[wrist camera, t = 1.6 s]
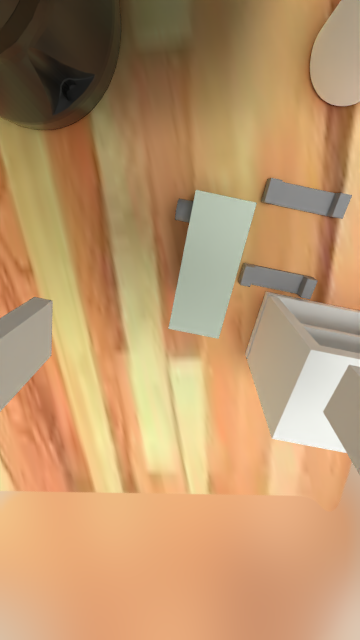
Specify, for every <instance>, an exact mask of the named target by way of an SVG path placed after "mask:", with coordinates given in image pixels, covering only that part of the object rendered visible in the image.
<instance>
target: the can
mask: <svg viewBox="0 0 360 640" xmlns="http://www.w3.org/2000/svg"><path fill="white" fill-rule="evenodd" d="M310 76H311V81H312V84H313V86H314V89H315V91H316V92H317V94H318V95H319V96H320V97H321V98H322V99H323V100H324V101H326V102H327V103H329V104H331V105H335V106H349V105H353V104H356V103H358V102H360V0H341V1H340V3H339V4H338V6H337V7H336V8H335V10H334V11H333V13H332V14H331V16H330V17H329V18H328V20H327V21H326V23H325V24H324V26H323V27H322V29H321V30H320V32H319V34H318V35H317V37H316V40H315V42H314V45H313V49H312V53H311V60H310Z"/></svg>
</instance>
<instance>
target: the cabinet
mask: <svg viewBox="0 0 360 640" xmlns="http://www.w3.org/2000/svg"><path fill="white" fill-rule="evenodd" d="M351 196H352V195H348V194H343V193H331V192H326V191H322V190H317V189H312V188H308V187H303V186H298V185H294V184H289V183H285V182H282V180H279V179H274V178H270V179H267V183H266V186H265V190H264V193H263V197H262V200H261V202H263V203H268V204H273V205H277V206H282V207H287V208H292V209H296V210H301V211H306V212H310V213H315V214H320V215H324V216H329V217H334V218H341V219H343V216H344V214H345V211H346V209H347V206H348V204H349V201H350V199H351ZM239 283H240V285H243V286H248V287H250V285H251V284H252V285H257V286H261V287H266V288H271V289H276V290H281V291H286V292H291V293H295V294H298V295H299V296H300V297H302V298H307V299H310V298H311V296H312V293H313V291H314V288H315V286H316V283H317V280H316V279H314V278H313V277H309V276H304V275H299V274H295V273H290V272H285V271H280V270H275V269H270V268H266V267H261V266H256V265H251V264H246V263H243V267H242V270H241V274H240V277H239ZM245 355H246V358H247V359H248V360H247V362H248V365H249V368H250V371H251V374H252V377H253V380H254V384H255V387H256V390H257V393H258V396H259V399H260V402H261V406H262V409H263V412H264V415H265V418H266V421H267V424H268V428H269V431H270V434H271V437H272V439H277V440H282V441H287V442H292V443H297V444H303V445H308V446H313V447H318V448H323V449H329V450H334V451H339V452H344V453H347V452H346V451H345V449H344V447H343V445H342V444H341V442H340V440H339V439H338V437H337V435H336V433H335V432H334V430H333V428H332V427H331V425H330V423H329V421H328V420H327V418H326V416H325V415H324V413H323V411H324V409H325V407H326V405H327V404H328V402H329V400H330V398H331V396H332V394H333V393H334V391H335V389H336V387H337V385H338V384H339V382H340V380H341V378H342V376H343V375H344V373H345V371H346V369H347V367H348V366H349V365H353V366H358V367H360V311H359V310H354V309H349V308H344V307H339V306H334V305H330V304H325V303H320V302H315V301H310V300H305V299H300V298H296V297H291V296H286V295H281V294H276V293H271V292H265V296H264V299H263V302H262V305H261V308H260V311H259V314H258V317H257V320H256V323H255V326H254V329H253V332H252V335H251V338H250V341H249V344H248V347H247V350H246V353H245Z"/></svg>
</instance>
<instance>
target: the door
mask: <svg viewBox="0 0 360 640" xmlns="http://www.w3.org/2000/svg"><path fill="white" fill-rule="evenodd" d="M256 204H257V203H255V202H251V201H246V200H241V199H237V198H232V197H227V196H223V195H218V194H213V193H209V192H204V191H199V190H196V192H195V197H194V201H189V200H184V199H179V200H178V204H177V209H176V215H175V220H179V221H184V222H188V223H189V227H188V232H187V237H186V242H185V248H184V253H183V258H182V263H181V268H180V273H179V278H178V283H177V288H176V293H175V298H174V303H173V309H172V314H171V319H170V324H169V329H173V330H178V331H183V332H188V333H193V334H198V335H203V336H208V337H213V338H218V339H219V336H220V332H221V328H222V325H223V321H224V318H225V314H226V311H227V307H228V304H229V300H230V296H231V293H232V289H233V286H234V282H235V279H236V275H237V271H238V268H239V264H240V261H241V257H242V254H243V250H244V246H245V243H246V239H247V236H248V232H249V229H250V225H251V222H252V218H253V214H254V211H255V207H256Z"/></svg>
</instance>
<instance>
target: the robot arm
mask: <svg viewBox="0 0 360 640" xmlns="http://www.w3.org/2000/svg"><path fill="white" fill-rule="evenodd" d="M120 39H121V14H120V4H119V0H0V117H1V118H4V119H6V120H8V121H10V122H13V123H15V124H17V125H20V126H23V127H27V128H31V129H37V130H52V129H58V128H62V127H66V126H68V125H71V124H73V123H75V122H77V121H78V120H80V119H81V118H83V117H84V116H85V115H87V114H88V113H89V112H90V111H91V110H92V109H93V108H94V107H95V106H96V104H97V103H98V102H99V101H100V99H101V98H102V96H103V95H104V93H105V91H106V89H107V88H108V85H109V83H110V81H111V79H112V76H113V73H114V70H115V67H116V63H117V59H118V54H119V48H120ZM51 345H52V301H51V300H46V299H42V298H37V297H34V298H32V299H30V300H29V301H27V302H26V303H24V304H22V305H21V306H19V307H18V308H16V309H14V310H13V311H11V312H9V313H8V314H6V315H5V316H3V317H1V318H0V411H1V410H2V409H3V408H4V407H5V406H6V405H7V404H8V402H9V401H10V400H11V399H12V398H13V397H14V396H15V395H16V394H17V393H18V391H19V390H20V389H21V388H22V387H23V386H24V385H25V384H26V383H27V382H28V380H29V379H30V378H31V377H32V376H33V375H34V374H35V373H36V372H37V371H38V369H39V368H40V367H41V366H42V365H43V364H44V363H45V362H46V361H47V360H48V358H49V357H50V356H51ZM323 413H324V415H325V416H326V418H327V420H328V421H329V423H330V425H331V427H332V428H333V430H334V432H335V433H336V435H337V437H338V439H339V440H340V442H341V444H342V445H343V447H344V449H345V451H346V452H347V454H348V456H349V457H350V459H351V461H352V462H353V464H354V466H355V468H356V469H357V471H358V473H359V474H360V367H358V366H353V365H349V366H348V367H347V369H346V371H345V373H344V375H343V376H342V378H341V380H340V382H339V384H338V385H337V387H336V389H335V391H334V393H333V394H332V396H331V398H330V400H329V402H328V404H327V405H326V407H325V409H324V411H323Z"/></svg>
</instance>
